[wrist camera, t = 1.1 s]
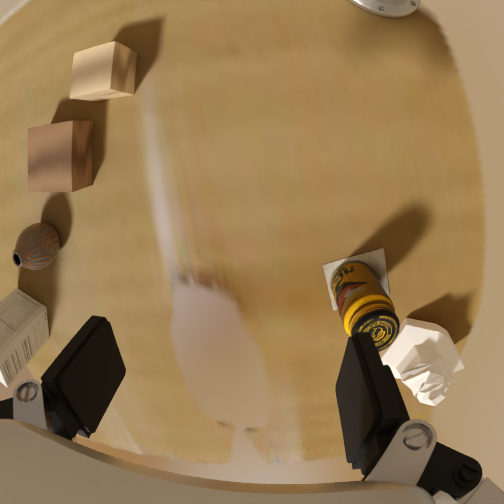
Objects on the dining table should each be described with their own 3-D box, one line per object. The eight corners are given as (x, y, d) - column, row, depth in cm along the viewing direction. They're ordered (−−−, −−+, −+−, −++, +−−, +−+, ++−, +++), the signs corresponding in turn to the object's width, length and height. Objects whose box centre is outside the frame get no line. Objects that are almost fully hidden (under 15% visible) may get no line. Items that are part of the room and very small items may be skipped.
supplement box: (21, 318, 46) (-23, 362, 30) (16, 286, 43) (-35, 329, 27) (50, 339, 47) (8, 389, 31) (47, 306, 43) (-5, 358, 28)
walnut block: (50, 127, 31) (28, 128, 26) (94, 120, 31) (72, 120, 26) (50, 184, 34) (29, 191, 30) (93, 184, 34) (72, 192, 30)
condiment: (322, 264, 36) (341, 318, 25) (383, 247, 35) (422, 292, 23) (332, 309, 38) (350, 369, 27) (388, 293, 37) (421, 346, 26)
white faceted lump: (402, 376, 45) (402, 439, 33) (370, 329, 43) (367, 399, 31) (460, 350, 39) (473, 414, 27) (437, 295, 36) (456, 364, 24)
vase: (71, 237, 37) (35, 260, 29) (58, 265, 39) (26, 290, 31) (45, 209, 36) (8, 226, 28) (34, 239, 38) (0, 259, 30)
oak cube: (99, 61, 27) (74, 53, 22) (137, 52, 27) (115, 41, 21) (96, 101, 30) (69, 98, 24) (134, 94, 29) (110, 88, 24)
